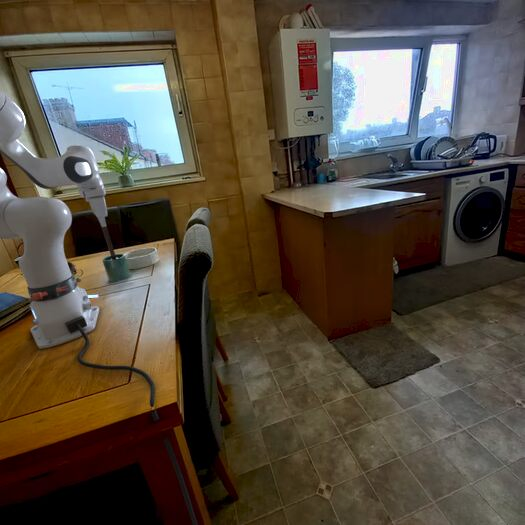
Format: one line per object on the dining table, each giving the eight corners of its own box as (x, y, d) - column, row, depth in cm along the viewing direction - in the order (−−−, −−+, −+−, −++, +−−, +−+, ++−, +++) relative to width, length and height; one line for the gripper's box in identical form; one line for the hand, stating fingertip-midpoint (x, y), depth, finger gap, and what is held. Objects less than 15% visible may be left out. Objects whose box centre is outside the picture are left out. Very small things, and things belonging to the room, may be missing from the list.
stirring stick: (120, 267, 118) (104, 216, 111) (114, 268, 117) (97, 217, 109) (119, 265, 120) (103, 215, 113) (113, 267, 119) (96, 216, 111)
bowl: (163, 263, 134) (160, 251, 132) (128, 273, 126) (124, 261, 124) (154, 256, 147) (151, 245, 145) (122, 265, 138) (118, 253, 136)
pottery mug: (84, 271, 137) (78, 260, 131) (74, 287, 130) (68, 276, 124) (58, 268, 136) (51, 257, 130) (47, 283, 129) (39, 272, 123)
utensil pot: (132, 278, 119) (126, 256, 116) (110, 284, 115) (103, 262, 112) (128, 273, 126) (122, 252, 123) (108, 279, 122) (101, 257, 118)
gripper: (81, 191, 114) (92, 224, 119) (84, 193, 98) (97, 231, 103) (98, 189, 117) (108, 221, 122) (104, 190, 101) (115, 227, 106)
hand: (103, 226), depth 112 cm, fingers closed on stirring stick, 2 cm apart
